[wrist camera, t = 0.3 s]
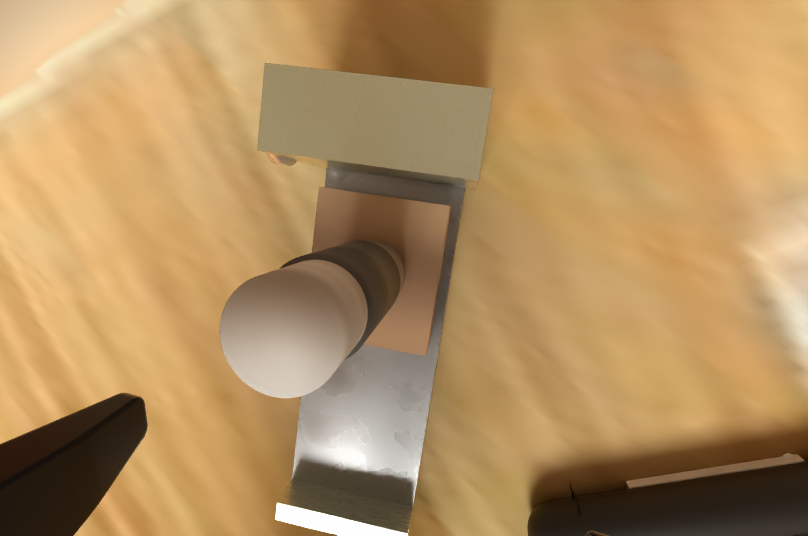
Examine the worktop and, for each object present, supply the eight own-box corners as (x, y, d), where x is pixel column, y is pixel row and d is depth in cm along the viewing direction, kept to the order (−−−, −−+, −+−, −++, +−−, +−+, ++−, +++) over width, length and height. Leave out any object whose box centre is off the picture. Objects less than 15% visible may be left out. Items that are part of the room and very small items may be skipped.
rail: (420, 515, 26) (399, 649, 18) (281, 482, 27) (203, 596, 19) (485, 124, 22) (495, 79, 14) (322, 104, 23) (248, 52, 15)
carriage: (429, 343, 22) (384, 500, 10) (317, 322, 23) (154, 447, 11) (451, 205, 21) (429, 205, 9) (332, 188, 22) (170, 167, 10)
